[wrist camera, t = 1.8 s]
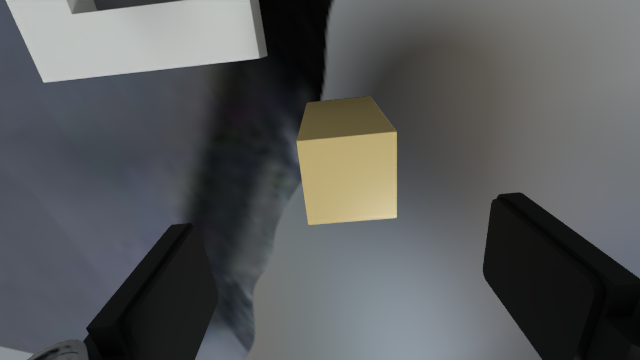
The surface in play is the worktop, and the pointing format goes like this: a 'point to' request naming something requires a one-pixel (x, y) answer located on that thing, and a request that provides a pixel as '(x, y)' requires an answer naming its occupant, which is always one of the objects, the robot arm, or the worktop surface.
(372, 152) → the plug block
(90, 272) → the worktop surface
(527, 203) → the robot arm
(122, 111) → the worktop surface
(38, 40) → the socket housing
